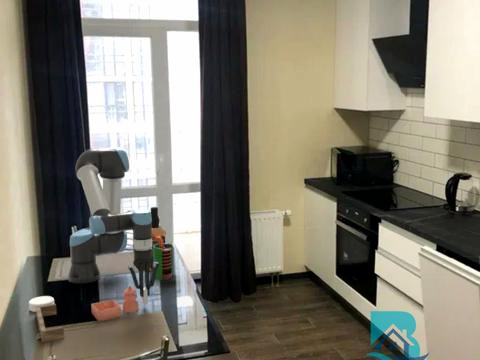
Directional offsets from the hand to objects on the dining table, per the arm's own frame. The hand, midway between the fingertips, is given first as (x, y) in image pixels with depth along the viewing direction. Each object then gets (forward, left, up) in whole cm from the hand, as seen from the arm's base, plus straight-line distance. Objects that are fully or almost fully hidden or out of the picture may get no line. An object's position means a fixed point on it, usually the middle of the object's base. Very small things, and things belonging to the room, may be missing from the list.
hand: (145, 303), depth 215 cm
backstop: (+2, -38, -2) cm, 38 cm away
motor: (-35, +18, -2) cm, 39 cm away
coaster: (-20, -39, -2) cm, 44 cm away
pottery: (0, -12, -2) cm, 12 cm away
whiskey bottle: (-50, +19, -2) cm, 54 cm away
